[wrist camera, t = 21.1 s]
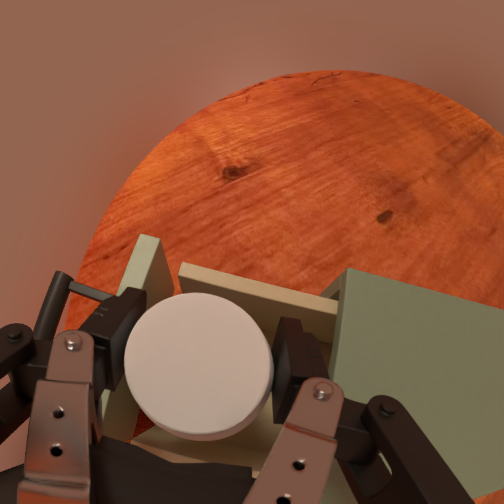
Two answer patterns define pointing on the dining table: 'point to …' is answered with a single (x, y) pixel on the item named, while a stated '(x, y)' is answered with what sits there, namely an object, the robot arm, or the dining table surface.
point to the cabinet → (423, 371)
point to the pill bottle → (199, 366)
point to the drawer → (209, 282)
